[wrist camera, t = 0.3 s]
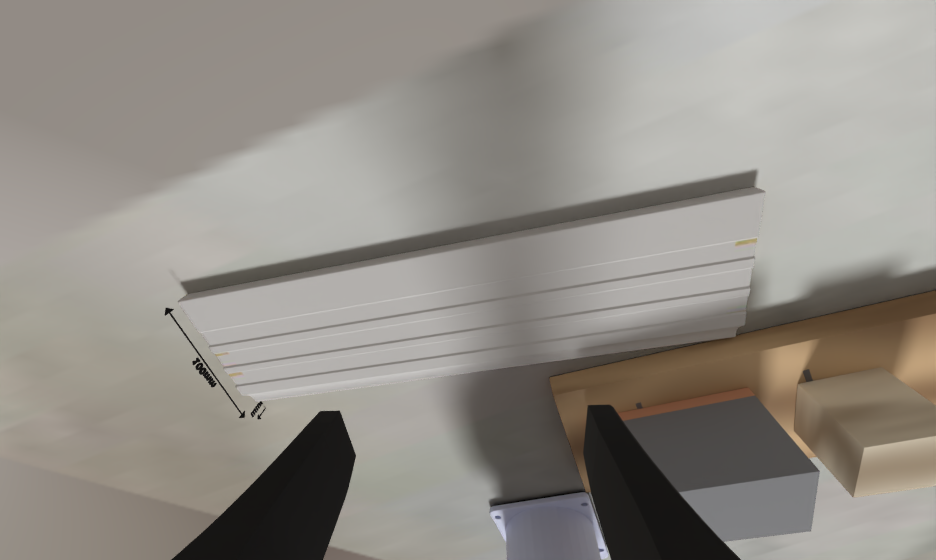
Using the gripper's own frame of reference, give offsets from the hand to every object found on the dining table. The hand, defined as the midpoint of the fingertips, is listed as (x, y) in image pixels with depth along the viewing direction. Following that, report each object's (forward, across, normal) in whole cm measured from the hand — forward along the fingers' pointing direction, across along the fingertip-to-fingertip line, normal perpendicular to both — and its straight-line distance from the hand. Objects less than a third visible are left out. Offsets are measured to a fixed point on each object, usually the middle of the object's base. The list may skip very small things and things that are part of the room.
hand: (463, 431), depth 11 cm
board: (+10, -16, +10) cm, 21 cm away
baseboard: (+11, +1, +3) cm, 11 cm away
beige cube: (+9, -20, +8) cm, 23 cm away
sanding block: (+9, -11, +11) cm, 18 cm away
